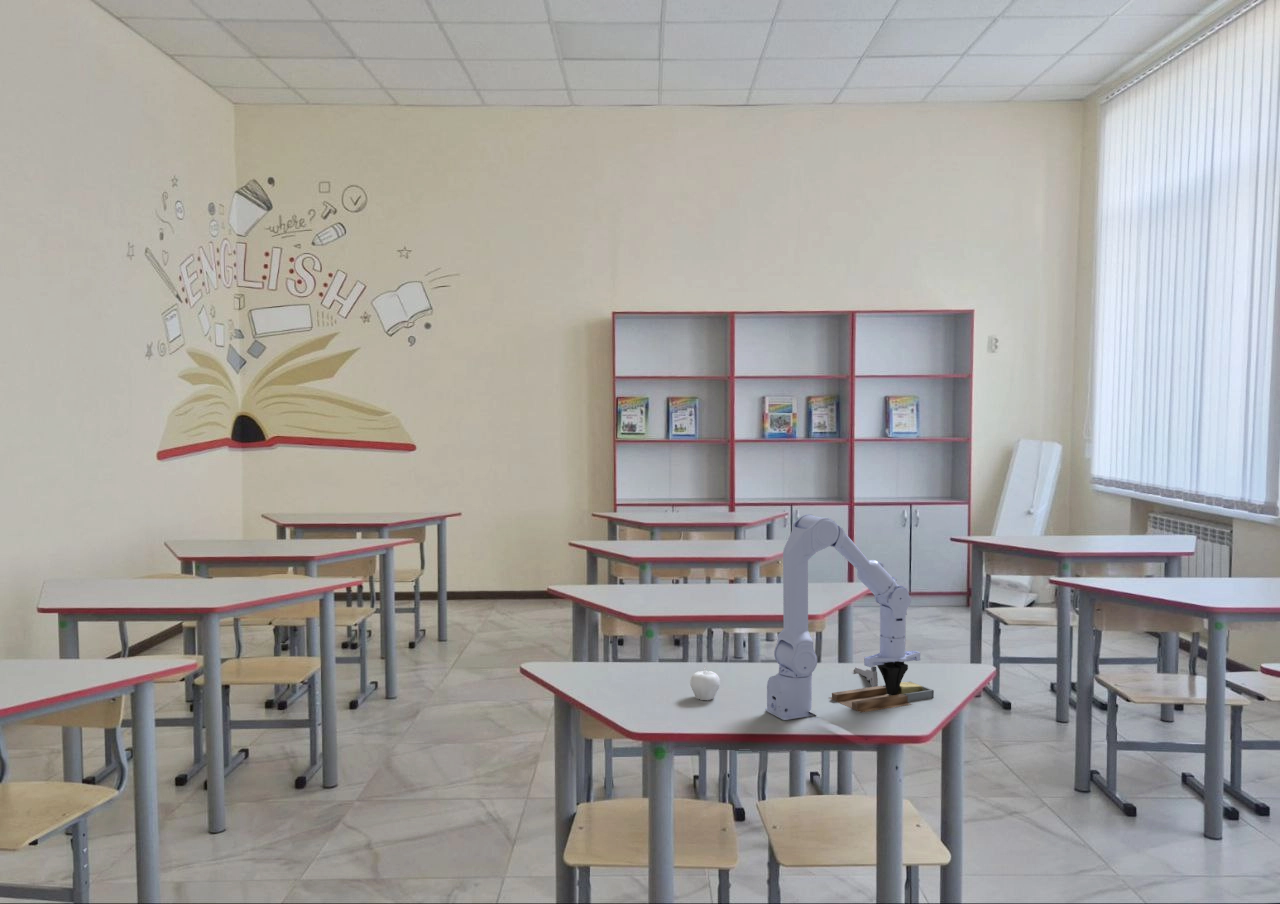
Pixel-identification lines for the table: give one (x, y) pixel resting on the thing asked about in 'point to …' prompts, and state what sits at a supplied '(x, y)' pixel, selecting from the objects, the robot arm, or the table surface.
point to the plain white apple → (705, 684)
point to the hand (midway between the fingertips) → (892, 694)
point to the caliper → (869, 675)
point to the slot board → (869, 699)
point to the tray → (919, 694)
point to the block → (909, 688)
